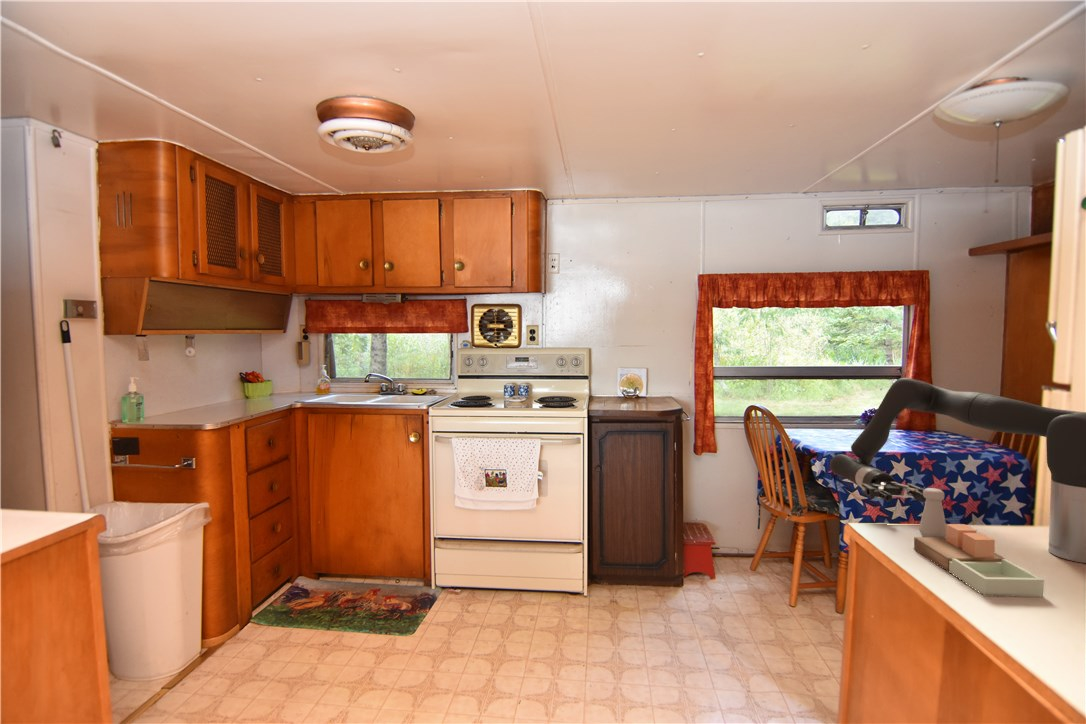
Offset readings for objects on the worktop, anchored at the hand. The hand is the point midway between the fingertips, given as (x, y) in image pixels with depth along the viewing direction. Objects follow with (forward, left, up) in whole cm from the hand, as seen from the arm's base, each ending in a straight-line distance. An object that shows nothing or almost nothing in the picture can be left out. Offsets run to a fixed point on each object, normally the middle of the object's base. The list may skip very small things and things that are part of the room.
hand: (906, 498), depth 147 cm
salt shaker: (0, +11, -7) cm, 13 cm away
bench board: (+2, +23, -7) cm, 24 cm away
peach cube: (0, +27, -4) cm, 27 cm away
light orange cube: (0, +21, -4) cm, 21 cm away
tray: (+2, +35, -7) cm, 36 cm away
